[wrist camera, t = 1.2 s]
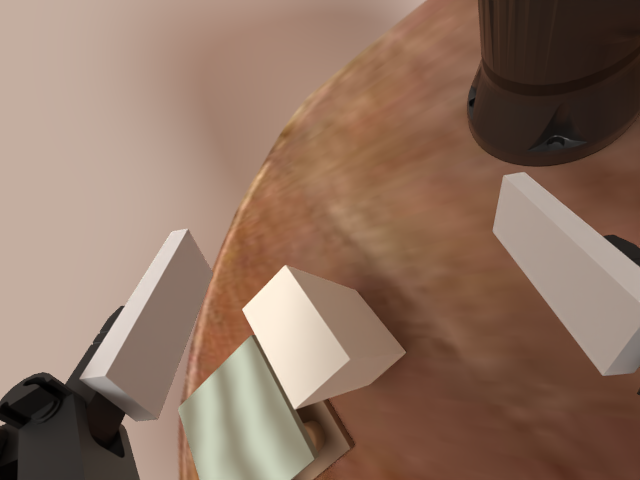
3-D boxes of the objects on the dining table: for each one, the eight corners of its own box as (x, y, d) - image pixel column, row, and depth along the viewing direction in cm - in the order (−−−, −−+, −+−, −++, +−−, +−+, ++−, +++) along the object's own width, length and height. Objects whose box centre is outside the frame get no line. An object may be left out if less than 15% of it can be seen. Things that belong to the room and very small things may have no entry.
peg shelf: (283, 325, 41) (253, 322, 36) (354, 445, 33) (327, 464, 28) (209, 398, 44) (170, 405, 39) (256, 526, 35) (215, 558, 30)
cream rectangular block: (356, 290, 38) (285, 264, 25) (406, 352, 33) (350, 359, 20) (325, 319, 38) (242, 309, 26) (369, 384, 34) (294, 409, 21)
